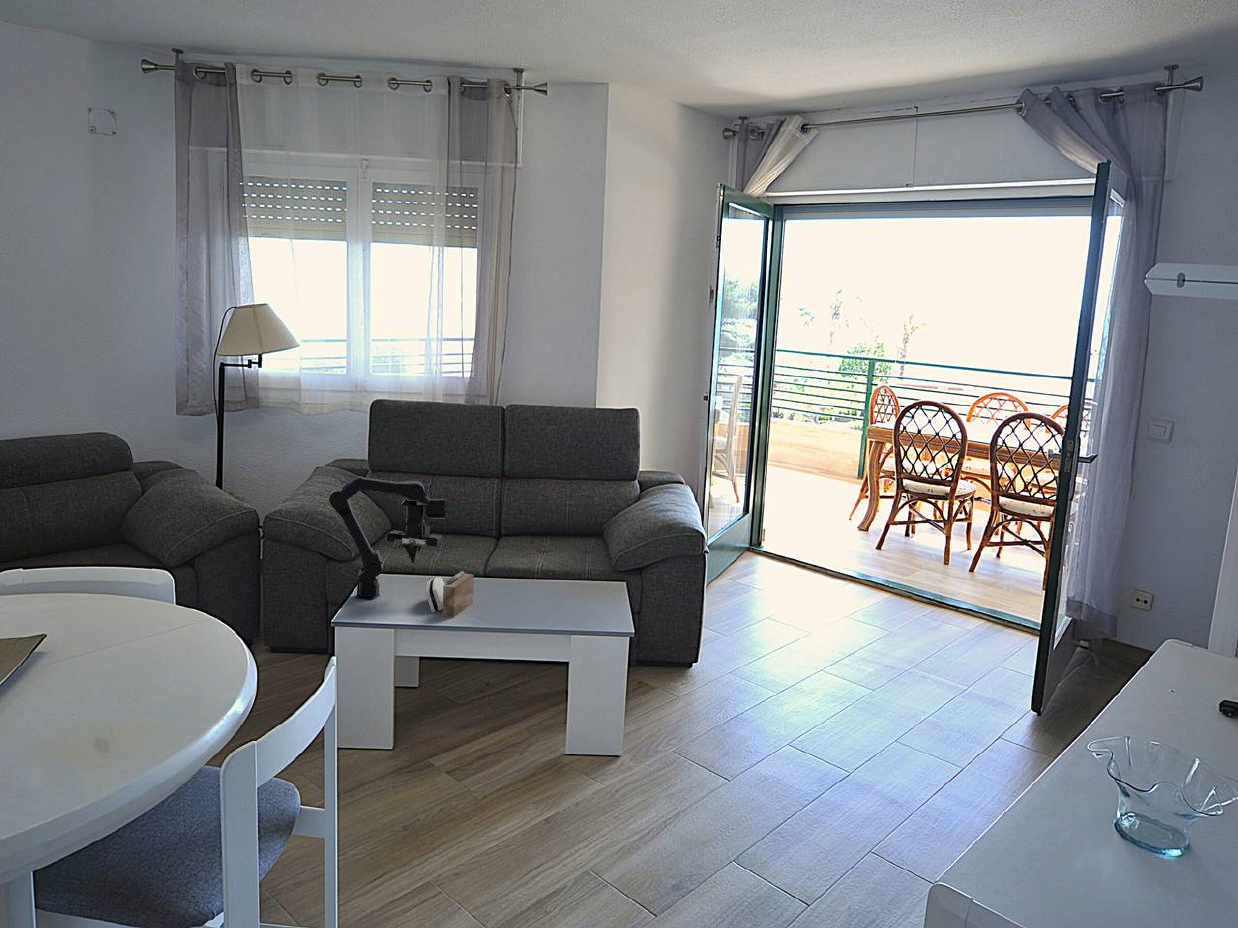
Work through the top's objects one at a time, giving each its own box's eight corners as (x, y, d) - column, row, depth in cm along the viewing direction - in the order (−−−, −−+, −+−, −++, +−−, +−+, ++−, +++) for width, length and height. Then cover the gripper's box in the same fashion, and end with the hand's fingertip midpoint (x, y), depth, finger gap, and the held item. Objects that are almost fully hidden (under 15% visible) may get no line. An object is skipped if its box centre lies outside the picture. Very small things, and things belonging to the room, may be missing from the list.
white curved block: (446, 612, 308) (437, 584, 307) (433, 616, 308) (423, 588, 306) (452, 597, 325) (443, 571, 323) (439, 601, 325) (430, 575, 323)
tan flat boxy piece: (441, 615, 305) (442, 581, 303) (460, 601, 321) (461, 569, 320) (453, 617, 304) (455, 583, 302) (472, 602, 320) (473, 570, 319)
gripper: (449, 516, 326) (448, 560, 328) (399, 511, 329) (398, 554, 332) (436, 522, 315) (435, 567, 317) (385, 517, 318) (384, 561, 321)
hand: (413, 562), depth 322 cm, fingers closed
